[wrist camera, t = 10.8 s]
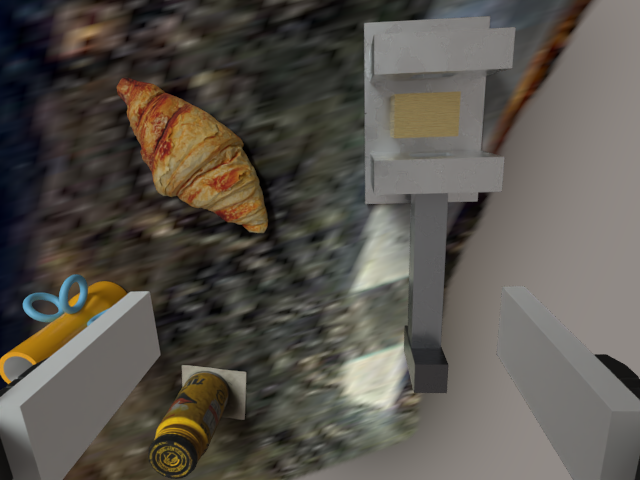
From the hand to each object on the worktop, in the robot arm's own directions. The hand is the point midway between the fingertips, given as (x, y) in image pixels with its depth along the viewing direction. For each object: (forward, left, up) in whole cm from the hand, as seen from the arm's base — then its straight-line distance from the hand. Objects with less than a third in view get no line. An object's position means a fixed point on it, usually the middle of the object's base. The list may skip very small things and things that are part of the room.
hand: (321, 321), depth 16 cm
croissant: (-3, -15, -33) cm, 36 cm away
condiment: (+27, -17, -33) cm, 46 cm away
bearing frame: (-7, +9, -32) cm, 34 cm away
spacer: (-5, +8, -29) cm, 31 cm away
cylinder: (+14, -29, -33) cm, 46 cm away
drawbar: (+8, +9, -30) cm, 33 cm away
